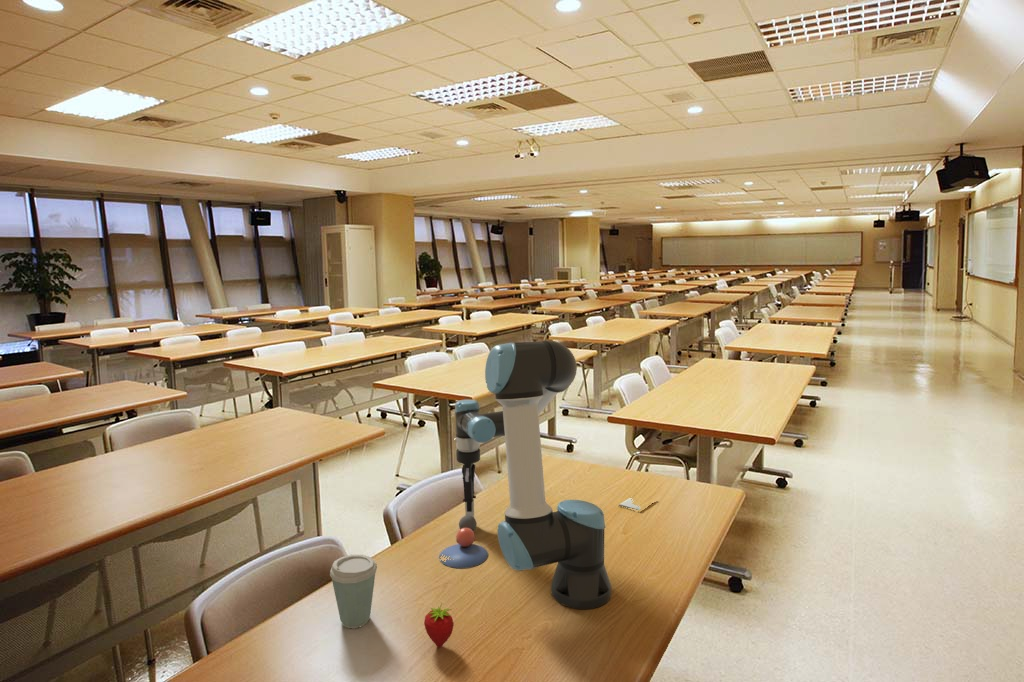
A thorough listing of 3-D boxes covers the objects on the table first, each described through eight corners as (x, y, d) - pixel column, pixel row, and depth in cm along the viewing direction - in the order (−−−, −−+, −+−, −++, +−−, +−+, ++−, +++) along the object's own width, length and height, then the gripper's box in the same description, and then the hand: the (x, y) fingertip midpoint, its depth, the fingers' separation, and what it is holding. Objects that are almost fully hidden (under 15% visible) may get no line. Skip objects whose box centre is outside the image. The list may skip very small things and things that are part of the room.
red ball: (475, 546, 174) (473, 547, 169) (457, 546, 174) (454, 547, 169) (475, 527, 176) (474, 527, 171) (457, 527, 176) (455, 527, 171)
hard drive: (639, 510, 194) (657, 498, 203) (618, 504, 199) (636, 492, 208) (639, 515, 194) (657, 503, 203) (618, 508, 199) (636, 497, 209)
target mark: (486, 568, 160) (486, 567, 160) (435, 568, 160) (435, 567, 160) (489, 544, 174) (489, 543, 174) (442, 544, 174) (442, 543, 174)
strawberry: (441, 632, 132) (440, 591, 131) (460, 649, 126) (459, 606, 125) (419, 643, 128) (417, 601, 127) (437, 660, 123) (435, 616, 121)
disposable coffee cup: (361, 602, 144) (358, 546, 142) (389, 619, 137) (386, 559, 136) (323, 623, 136) (320, 563, 134) (351, 641, 129) (347, 578, 127)
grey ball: (477, 517, 185) (477, 534, 182) (460, 517, 185) (459, 535, 182) (475, 513, 180) (475, 531, 177) (458, 513, 180) (457, 532, 177)
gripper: (458, 442, 190) (460, 511, 193) (453, 455, 177) (455, 528, 180) (481, 442, 190) (483, 510, 193) (478, 455, 177) (480, 528, 180)
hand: (470, 519), depth 187 cm, fingers closed
